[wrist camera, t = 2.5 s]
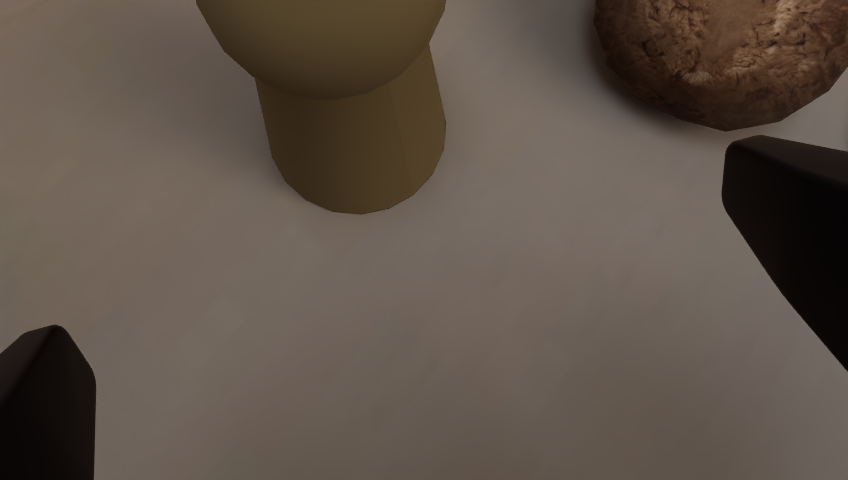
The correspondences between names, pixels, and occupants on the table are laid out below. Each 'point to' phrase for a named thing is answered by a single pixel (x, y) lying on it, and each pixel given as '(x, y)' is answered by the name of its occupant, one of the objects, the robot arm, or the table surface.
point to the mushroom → (725, 55)
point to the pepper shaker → (342, 92)
